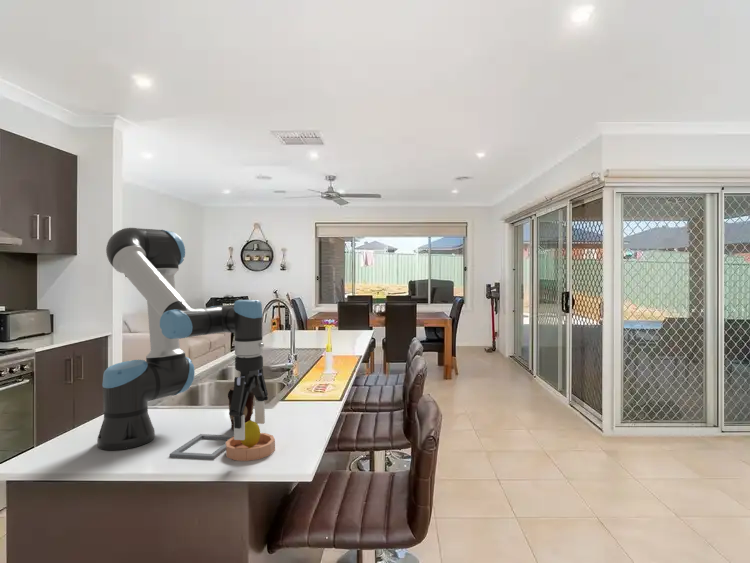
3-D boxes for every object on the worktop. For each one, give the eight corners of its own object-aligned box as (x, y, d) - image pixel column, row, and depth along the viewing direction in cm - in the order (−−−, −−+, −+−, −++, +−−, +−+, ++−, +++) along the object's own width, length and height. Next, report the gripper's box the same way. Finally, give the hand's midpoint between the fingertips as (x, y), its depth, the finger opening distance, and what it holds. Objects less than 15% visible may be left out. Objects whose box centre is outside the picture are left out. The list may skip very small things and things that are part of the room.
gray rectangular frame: (169, 456, 127) (169, 453, 127) (200, 436, 143) (200, 434, 143) (214, 459, 125) (214, 456, 125) (240, 438, 141) (240, 435, 141)
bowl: (217, 459, 125) (217, 448, 125) (238, 442, 138) (238, 432, 138) (263, 461, 123) (263, 450, 123) (281, 444, 136) (280, 433, 136)
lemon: (242, 444, 133) (242, 416, 132) (261, 444, 133) (262, 416, 133) (237, 452, 127) (237, 423, 127) (258, 452, 128) (258, 423, 127)
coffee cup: (247, 432, 146) (246, 391, 146) (222, 431, 148) (222, 390, 147) (259, 424, 154) (258, 385, 154) (236, 422, 156) (235, 384, 156)
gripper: (242, 364, 117) (243, 448, 117) (277, 348, 142) (279, 417, 142) (214, 363, 118) (215, 446, 119) (254, 348, 143) (255, 416, 143)
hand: (250, 431), depth 130 cm, fingers open, 13 cm apart
